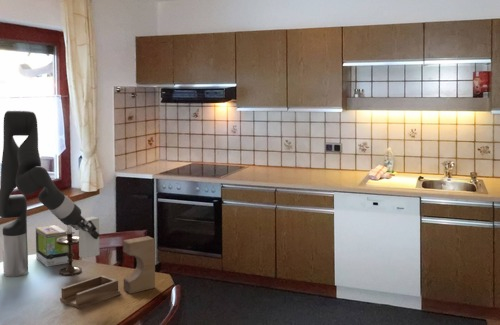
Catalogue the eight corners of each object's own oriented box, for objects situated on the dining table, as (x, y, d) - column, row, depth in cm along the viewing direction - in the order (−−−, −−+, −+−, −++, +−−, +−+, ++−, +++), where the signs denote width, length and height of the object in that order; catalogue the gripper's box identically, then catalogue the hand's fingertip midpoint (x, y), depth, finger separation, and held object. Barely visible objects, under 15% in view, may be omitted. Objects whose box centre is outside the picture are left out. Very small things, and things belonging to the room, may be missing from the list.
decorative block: (129, 294, 202) (129, 243, 199) (123, 289, 206) (122, 239, 204) (155, 288, 208) (155, 239, 206) (149, 284, 213) (148, 235, 210)
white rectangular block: (79, 256, 195) (78, 219, 193) (92, 252, 199) (92, 216, 198) (86, 258, 192) (85, 220, 191) (99, 254, 197) (99, 218, 195)
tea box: (69, 263, 236) (68, 230, 234) (46, 267, 230) (45, 234, 228) (57, 254, 248) (56, 223, 246) (35, 258, 242) (34, 226, 240)
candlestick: (88, 268, 229) (86, 189, 225) (77, 277, 219) (75, 193, 214) (64, 267, 231) (62, 188, 226) (52, 275, 220) (49, 192, 215)
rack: (59, 300, 194) (59, 287, 194) (99, 286, 209) (99, 274, 208) (80, 308, 187) (80, 295, 187) (120, 293, 202) (120, 281, 201)
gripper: (83, 203, 183) (111, 230, 194) (58, 198, 191) (87, 224, 203) (70, 221, 179) (100, 248, 191) (46, 214, 188) (75, 241, 199)
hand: (93, 235), depth 197 cm, fingers closed on white rectangular block, 4 cm apart
